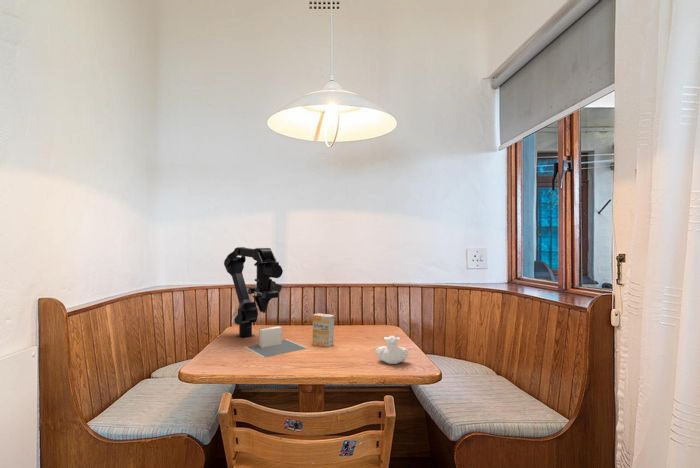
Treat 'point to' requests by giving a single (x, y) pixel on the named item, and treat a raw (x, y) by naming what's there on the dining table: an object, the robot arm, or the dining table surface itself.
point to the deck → (270, 336)
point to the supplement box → (323, 330)
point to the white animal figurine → (392, 351)
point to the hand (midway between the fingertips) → (262, 312)
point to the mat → (276, 348)
